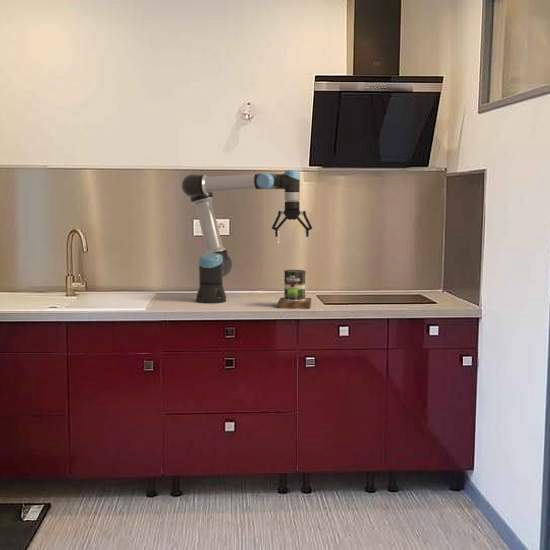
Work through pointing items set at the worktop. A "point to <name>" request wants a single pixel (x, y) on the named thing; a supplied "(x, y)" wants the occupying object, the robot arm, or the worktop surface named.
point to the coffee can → (294, 285)
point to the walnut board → (294, 303)
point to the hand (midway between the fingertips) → (291, 243)
